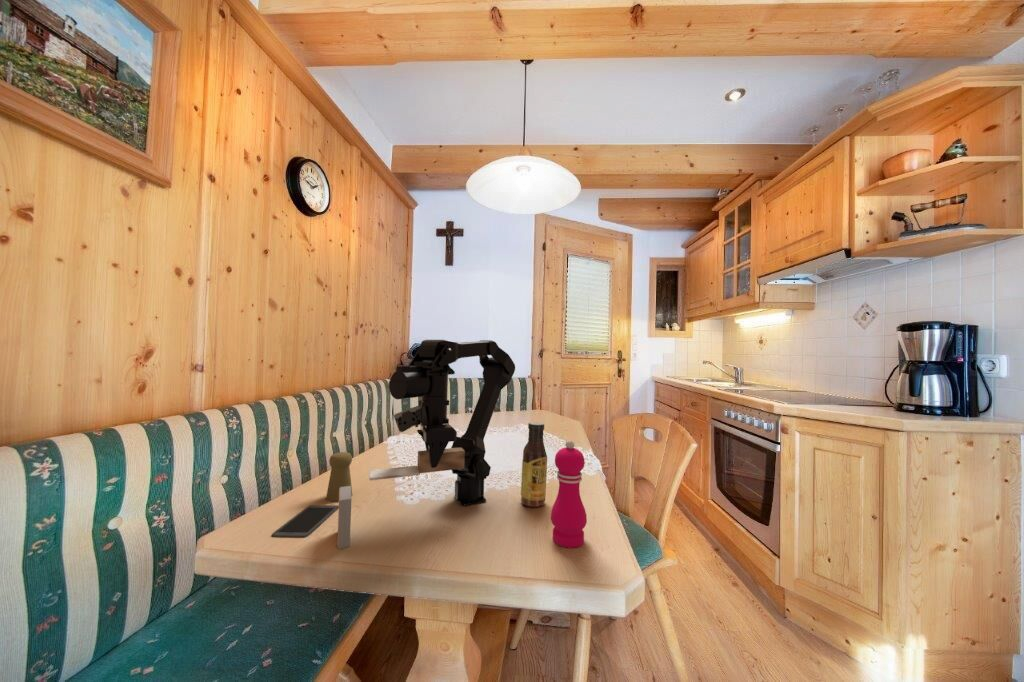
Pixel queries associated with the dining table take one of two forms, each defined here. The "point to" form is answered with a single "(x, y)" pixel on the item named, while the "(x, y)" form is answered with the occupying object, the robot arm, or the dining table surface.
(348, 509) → the tile
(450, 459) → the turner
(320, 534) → the dining table surface
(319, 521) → the cell phone
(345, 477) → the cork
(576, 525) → the pepper mill
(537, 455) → the sauce bottle
